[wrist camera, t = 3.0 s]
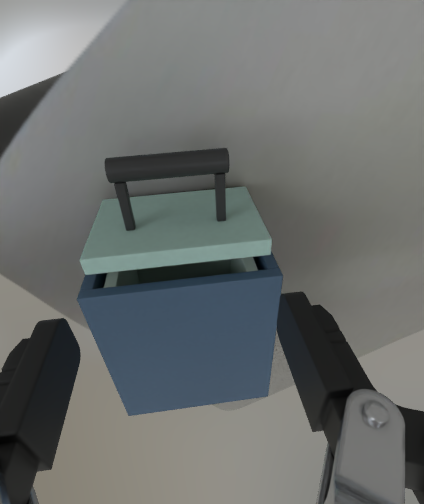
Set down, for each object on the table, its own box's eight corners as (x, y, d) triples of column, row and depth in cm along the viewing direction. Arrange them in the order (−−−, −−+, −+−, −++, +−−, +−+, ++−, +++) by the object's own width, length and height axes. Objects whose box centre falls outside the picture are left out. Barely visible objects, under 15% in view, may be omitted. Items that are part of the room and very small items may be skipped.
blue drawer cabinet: (103, 218, 26) (76, 299, 18) (249, 204, 26) (283, 275, 19) (137, 329, 34) (128, 416, 27) (246, 316, 35) (268, 396, 27)
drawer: (84, 137, 21) (48, 183, 15) (247, 124, 22) (279, 163, 15) (136, 315, 32) (128, 385, 25) (243, 302, 32) (261, 367, 26)
